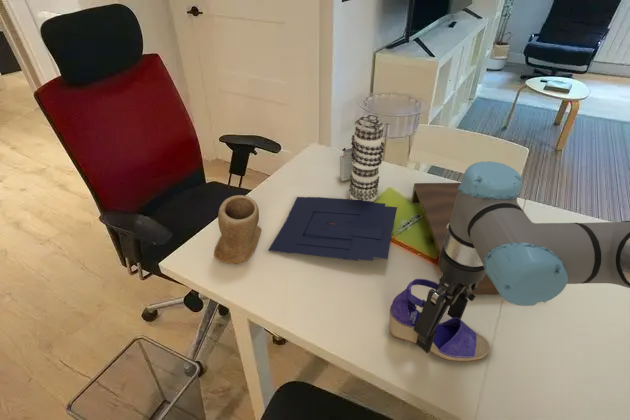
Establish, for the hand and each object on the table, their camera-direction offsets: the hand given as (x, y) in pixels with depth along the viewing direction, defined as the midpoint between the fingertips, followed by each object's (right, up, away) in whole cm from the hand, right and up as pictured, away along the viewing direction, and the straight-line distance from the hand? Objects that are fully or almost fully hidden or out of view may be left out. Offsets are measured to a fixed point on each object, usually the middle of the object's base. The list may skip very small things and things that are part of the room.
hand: (438, 331), depth 74 cm
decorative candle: (-10, +29, +40) cm, 51 cm away
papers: (-19, +18, +27) cm, 38 cm away
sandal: (0, -2, +2) cm, 3 cm away
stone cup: (-43, +15, +23) cm, 51 cm away
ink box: (-11, +35, +49) cm, 61 cm away
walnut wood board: (+16, +16, +24) cm, 33 cm away
